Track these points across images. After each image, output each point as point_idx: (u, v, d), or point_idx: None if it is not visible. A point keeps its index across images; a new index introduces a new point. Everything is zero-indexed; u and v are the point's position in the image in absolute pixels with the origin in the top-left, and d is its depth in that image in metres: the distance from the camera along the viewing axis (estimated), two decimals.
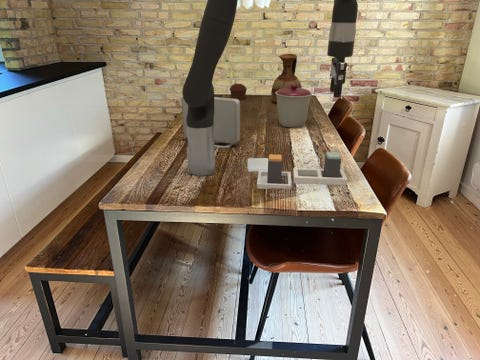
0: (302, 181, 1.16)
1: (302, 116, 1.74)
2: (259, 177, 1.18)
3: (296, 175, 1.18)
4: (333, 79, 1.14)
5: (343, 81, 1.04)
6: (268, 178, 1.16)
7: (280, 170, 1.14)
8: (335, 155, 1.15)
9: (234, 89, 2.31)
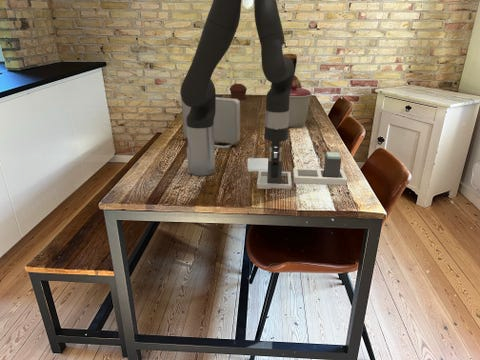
0: (302, 181, 1.16)
1: (302, 116, 1.74)
2: (259, 177, 1.18)
3: (296, 175, 1.18)
4: None
5: (277, 166, 1.10)
6: (268, 178, 1.16)
7: (280, 170, 1.14)
8: (335, 155, 1.15)
9: (234, 89, 2.31)
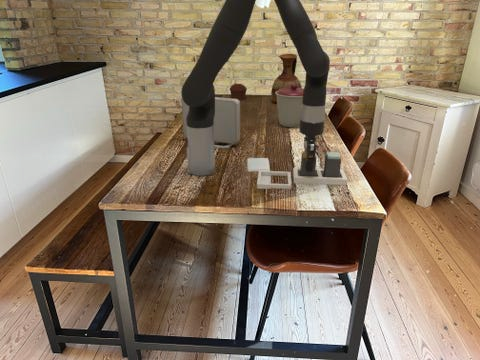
0: (302, 181, 1.16)
1: None
2: (259, 177, 1.18)
3: (296, 175, 1.18)
4: None
5: (313, 160, 1.11)
6: (302, 174, 1.17)
7: (314, 167, 1.16)
8: (335, 155, 1.15)
9: (234, 89, 2.31)
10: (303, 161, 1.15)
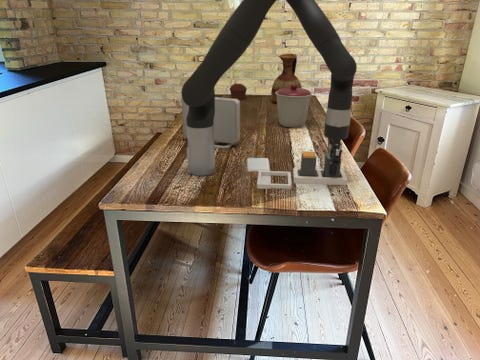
0: (302, 181, 1.16)
1: (302, 116, 1.74)
2: (259, 177, 1.18)
3: (296, 175, 1.18)
4: None
5: (338, 163, 1.11)
6: (302, 174, 1.17)
7: (314, 167, 1.16)
8: None
9: (234, 89, 2.31)
10: (303, 161, 1.15)
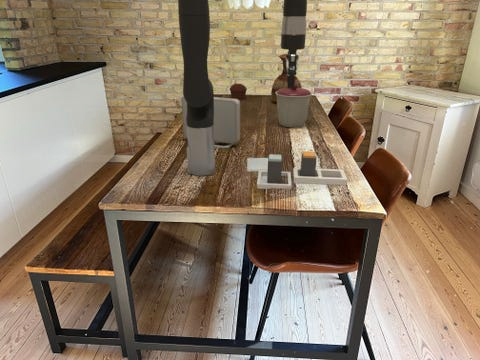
0: (302, 181, 1.16)
1: (302, 116, 1.74)
2: (259, 177, 1.18)
3: (296, 175, 1.18)
4: None
5: (294, 72, 1.08)
6: (302, 174, 1.17)
7: (314, 167, 1.16)
8: (276, 157, 1.14)
9: (234, 89, 2.31)
10: (303, 161, 1.15)
